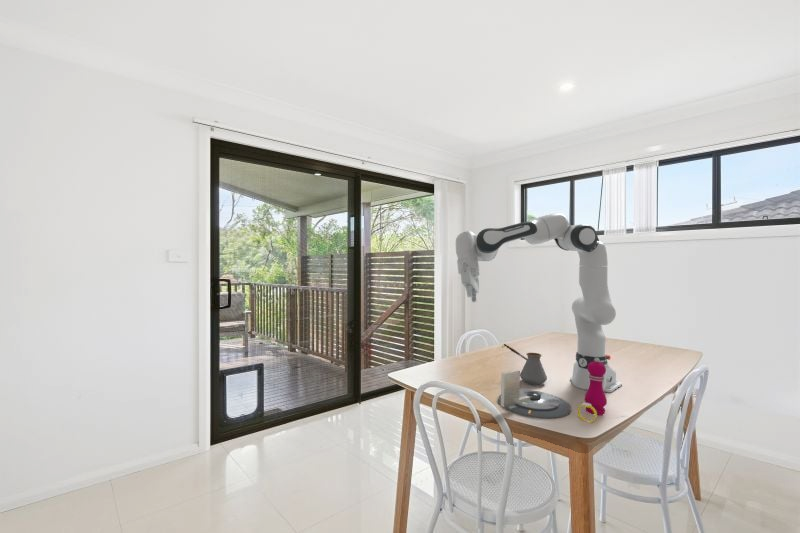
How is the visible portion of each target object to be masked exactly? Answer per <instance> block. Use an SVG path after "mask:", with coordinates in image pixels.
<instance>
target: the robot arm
mask: <svg viewBox="0 0 800 533" xmlns="http://www.w3.org/2000/svg"><path fill="white" fill-rule="evenodd" d="M520 239H524V240H525V241H526V242H527V243H528V244H529V245H539V244H543V243H546V242H549V241H552V240H554V241H555V244H556V246H558V248H560V249H561V250H563V251H572V252H573V251H576V252H577V255H578V257H579V264H578V266H579V268H578V269H579V270H578V276H579V277H578V284H579V286H580V289H581V292H582V296H580V297H577V298H575V300H573V302H572V305H571V310H572V313H573V316H574V321H575V327H576V334H577V342H576V343H577V349H576V350H577V351H576V352H575V362H574V363H573V366H572V367H573V369H572V375H571V377H570V378H569V381H571V384H572V385H573V386H574V387H576V388H579V389H583V390H586V391H587V390H588V389H589V386H590V379H589V374H590V373H589V372H588V369H587V367H588V364H589V363H591V362H594V359H595V358H599V360H600V361H599V362H600V363H602V364H604V366H605V368H606V372H605V374H604V375H603V376H604V380H603V382H602V388H603V391H604V393H605V392H606V393H612V392H614V391H616V390H617V389H618V387H619V388H621V387H622V386H623V383H622V382H620V381H619V380H617V373H616V370H614V369H613V368H612V366H610V365H609V362H608V361H609V360H611V358H612V357H611V355H609V354H606V345H607V344H606V336H605V333H604V331H603V330H604V329H603V327H602V326H607V325H609V324H612V322H614V320H615V319H616V314H617V313H616V309H615V307H614V305H613V303H612V299H611V296H610V291H609V286H608V254H607V248H606V244H604V243H603V242H601V241H600V240H599V237H598V233H597V231H596V229H595V228H594V227H593V226H591V225H589V224H584V223H583V224H574V225H572V224H570V222H569V219H568V217H566V215H565V214H563V213H559V212H557V213H556V212H555V213H551V214H550V213H549V214H546V215H542V216H538V217H536V218H533V219H530V220H527V221H523V222H519V223H516V224H515V223H514V224H510V225H508V226H507V225H506V226H505V227H503V226H502V227H499V228H497V227H496V228H494V227H493V228H491V227H490V228H489V227H488V228H484V229H482V230H480V231H479V232H478V233H477V234H475V233H474V232H472V231H470V230H469V231H463V232H461V233H460V234H458V235H457V237H456V238H455V254H456V256H457V261H456V262H457V263H456V264H457V272H458V274H459V275H460V279H461V284H462V285H463V286H464V287H465V290H466V294H467V295H466V296H467V297H468V298H471V302H472V303H476V302H477V294H479V293H480V283H479V276H480V267H479V262H490V261H492V260H493V259H495V258H496V257H497V254H498V252H499V249H500V248H501V247H502V245H505V244H506V243H510V242H513V241H517V240H520ZM621 385H622V386H621ZM615 389H616V390H615Z"/></svg>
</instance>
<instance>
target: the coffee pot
mask: <svg viewBox="0 0 800 533" xmlns="http://www.w3.org/2000/svg"><path fill="white" fill-rule="evenodd" d="M505 347H506V349H508V350H510V351H511V352H513V353H514V354H516V355H518V356H519V357H521V358H522V359H524V360H525V363H524V365H523V368H522V369H521V370H520V380H522V381H523V383H524V384H526V385H529V386H541V385H543V384H544V383H546V382H547V379H548V376H547V373H546V371H545V369H544V367H543V364H542V361H541V357H542V354H541V353H537V352H526V356H527V357H526V356H524V355H523V354H521V353H520V352H518V351H517V350H515V349H514V348H513V347H511V346H509V345H508V344H505V343H503V345H502V346H501V348H505Z"/></svg>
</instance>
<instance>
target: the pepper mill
mask: <svg viewBox="0 0 800 533" xmlns="http://www.w3.org/2000/svg"><path fill="white" fill-rule="evenodd" d="M599 361H600V360H599V358H595V359H594V362H591V363H589V364H588V367H587V369H588V372H589V373H590V374H589V379H590V386H589V389H588V390H587V389H586V393H585V394H584V403H590V404H591V405H592V407H593V408H594V409H595V410H596V412H597V416H604V415H605V414H606V408H605V406H606V405H607V403H608V401H607V400H608V399H607V396H606V394H605V392H604V391H603V388H602V382H603V380H604V376H603V375H604V374H605V372H606V368H605V366H604V364H602V363H600V362H599ZM585 411H586V412H587V414H590V413H591V414H590V415H593V414H594V412H593V410H592V409H591V408H588V407H585ZM603 414H604V415H603Z"/></svg>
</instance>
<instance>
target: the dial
mask: <svg viewBox="0 0 800 533" xmlns="http://www.w3.org/2000/svg"><path fill="white" fill-rule="evenodd" d="M520 373H521V370H519V369H513V370H507V371H504V372H501V379H500V380H501V383H500V384H501V385H500V390H501V391H500V394H501V405H500V407H502V408H504V407H507V406H511V405H514V404H515V405H517V406H520V407H522V408H526V409H531V410H538V411H549V410H554V409H557V408H558V407H559V400H558V399H557V398H556V397H554V396H555V395H554V396H552V395H553V394H551V395H550V393H548V394H547V392H543V391H540V390H532V389H520V386H521V384H520V382H521V377H520Z"/></svg>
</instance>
